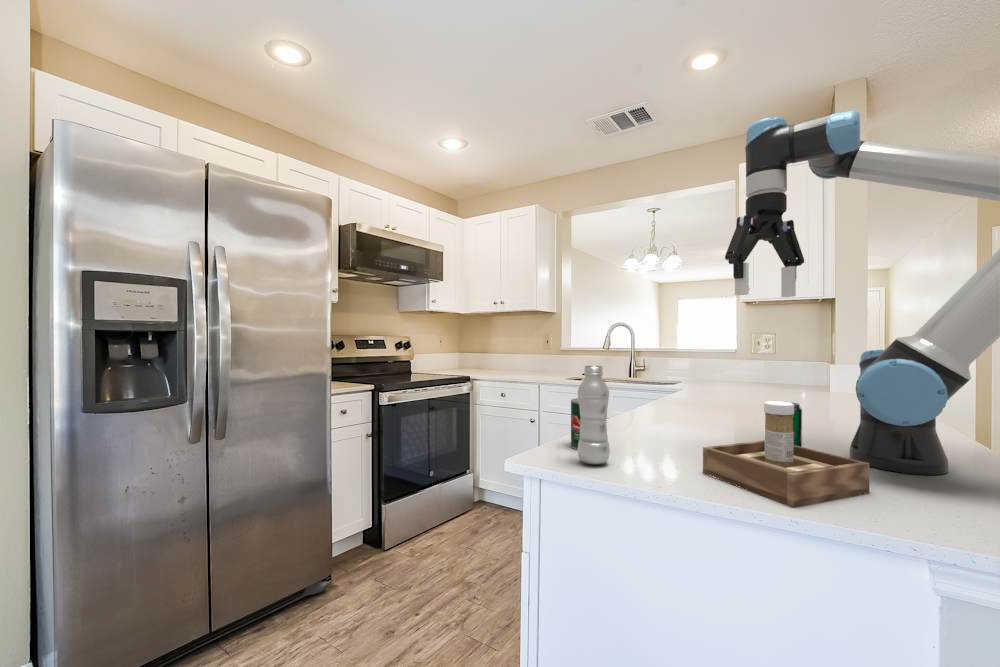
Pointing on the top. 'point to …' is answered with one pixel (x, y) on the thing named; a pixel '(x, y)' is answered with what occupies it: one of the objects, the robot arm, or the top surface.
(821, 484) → the socket tray
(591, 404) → the plastic bottle
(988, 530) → the top surface
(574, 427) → the canned tomato
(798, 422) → the soda can
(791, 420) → the sprinkles bottle
